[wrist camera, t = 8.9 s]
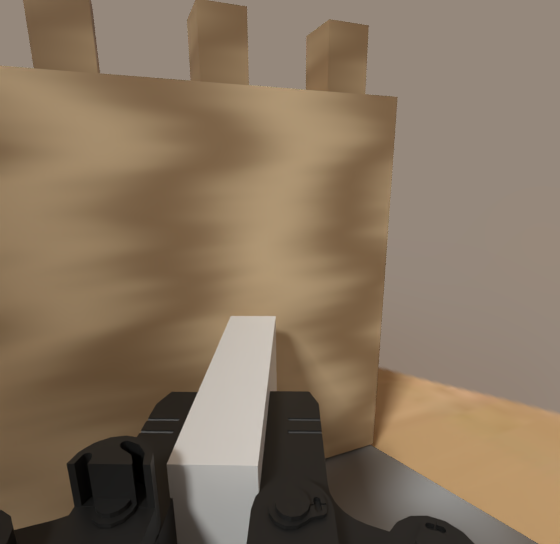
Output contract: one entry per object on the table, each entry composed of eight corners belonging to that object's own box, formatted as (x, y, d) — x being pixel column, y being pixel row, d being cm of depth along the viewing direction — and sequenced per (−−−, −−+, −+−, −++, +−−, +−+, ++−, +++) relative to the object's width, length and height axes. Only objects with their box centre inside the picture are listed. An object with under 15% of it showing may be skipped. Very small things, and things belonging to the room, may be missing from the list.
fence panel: (-95, 589, 11) (-333, -84, 7) (-70, 540, 12) (-253, -40, 8) (372, 444, 17) (401, 30, 12) (353, 422, 18) (373, 45, 14)
